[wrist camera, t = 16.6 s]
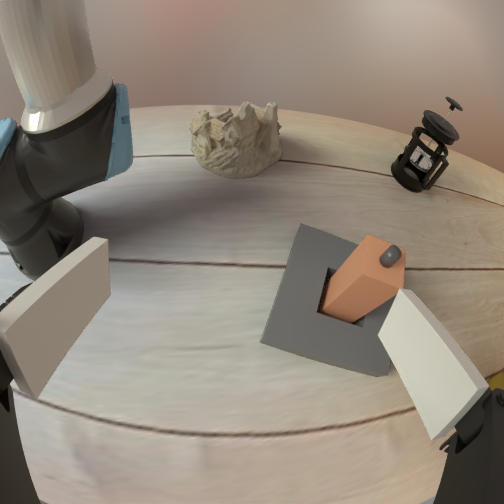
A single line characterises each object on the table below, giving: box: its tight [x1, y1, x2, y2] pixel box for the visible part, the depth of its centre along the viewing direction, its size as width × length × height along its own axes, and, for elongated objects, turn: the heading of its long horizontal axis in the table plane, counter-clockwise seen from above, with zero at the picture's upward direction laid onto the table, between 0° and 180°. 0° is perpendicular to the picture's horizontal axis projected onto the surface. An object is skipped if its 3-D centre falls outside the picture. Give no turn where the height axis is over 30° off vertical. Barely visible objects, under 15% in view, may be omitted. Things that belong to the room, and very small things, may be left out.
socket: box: [260, 224, 397, 377], centre depth 37 cm, size 18×18×3 cm
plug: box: [318, 234, 405, 324], centre depth 31 cm, size 5×5×16 cm
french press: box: [391, 97, 463, 192], centre depth 44 cm, size 12×9×23 cm
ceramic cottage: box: [188, 101, 283, 179], centre depth 46 cm, size 16×16×15 cm
